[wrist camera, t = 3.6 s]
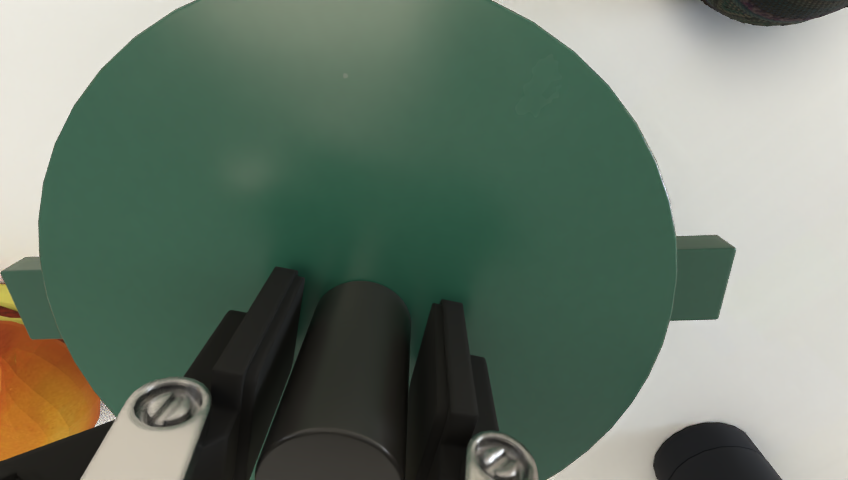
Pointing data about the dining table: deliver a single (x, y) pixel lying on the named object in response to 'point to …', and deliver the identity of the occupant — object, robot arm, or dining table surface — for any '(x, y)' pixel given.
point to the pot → (694, 300)
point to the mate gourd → (775, 10)
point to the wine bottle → (712, 455)
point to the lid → (363, 218)
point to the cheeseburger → (38, 388)
